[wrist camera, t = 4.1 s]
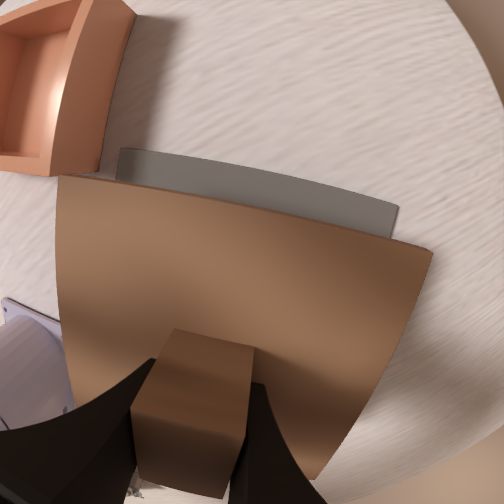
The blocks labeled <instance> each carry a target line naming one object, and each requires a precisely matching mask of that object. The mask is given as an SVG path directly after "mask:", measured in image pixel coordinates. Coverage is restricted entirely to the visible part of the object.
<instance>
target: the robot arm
mask: <svg viewBox="0 0 504 504" xmlns="http://www.w3.org/2000/svg"><path fill="white" fill-rule="evenodd" d="M1 304H2V309H3V314H4V319H5V324H4V325H2V326H1V327H0V504H123V503H124V500H125V497H126V493H127V491H128V488H129V485H130V482H131V479H132V476H133V473H134V471H135V469H136V466H137V460H136V453H135V446H134V438H133V430H132V421H131V410H130V407H131V405H132V403H133V401H134V400H135V398H136V396H137V394H138V392H139V390H140V389H141V387H142V385H143V383H144V381H145V379H146V378H147V376H148V374H149V372H150V370H151V369H152V367H153V365H154V363H155V361H156V360H157V359H154V358H150V359H148V360H147V361H146V362H144V363H143V364H142V365H141V366H140V367H138V368H137V369H136V370H135V371H133V372H132V373H131V374H129V375H128V376H127V377H126V378H124V379H123V380H121V381H120V382H119V383H117V384H116V385H115V386H113V387H112V388H110V389H109V390H107V391H106V392H104V393H102V394H101V395H99V396H98V397H96V398H94V399H93V400H91V401H89V402H88V403H86V404H84V405H82V406H80V407H78V408H76V404H75V400H74V396H73V392H72V387H71V383H70V378H69V373H68V368H67V363H66V358H65V352H64V346H63V339H62V332H61V325H60V323H59V322H57V321H55V320H52V319H50V318H48V317H46V316H43V315H41V314H39V313H37V312H34V311H32V310H30V309H28V308H26V307H24V306H22V305H20V304H18V303H16V302H14V301H12V300H10V299H8V298H3V299H2V300H1ZM228 504H327V502H326V501H325V500H324V499H323V498H322V497H321V495H320V494H319V493H318V492H317V491H316V490H315V488H314V487H313V486H312V485H311V483H310V482H309V480H308V479H307V478H306V476H305V475H304V473H303V472H302V470H301V469H300V467H299V466H298V464H297V462H296V461H295V459H294V457H293V455H292V454H291V452H290V450H289V448H288V446H287V444H286V442H285V440H284V438H283V436H282V434H281V431H280V429H279V426H278V424H277V422H276V419H275V416H274V414H273V411H272V408H271V405H270V402H269V398H268V394H267V390H266V386H265V385H264V384H260V383H255V382H251V385H250V395H249V404H248V414H247V423H246V432H245V438H244V441H243V444H242V447H241V450H240V453H239V455H238V458H237V461H236V464H235V467H234V469H233V472H232V475H231V478H230V491H229V500H228Z"/></svg>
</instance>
